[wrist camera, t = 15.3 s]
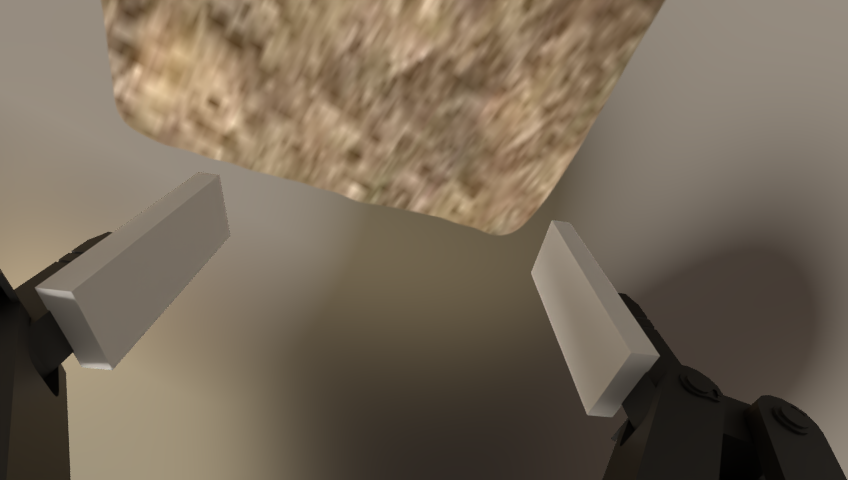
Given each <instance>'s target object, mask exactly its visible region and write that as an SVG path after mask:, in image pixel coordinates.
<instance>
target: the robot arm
mask: <svg viewBox="0 0 848 480" xmlns="http://www.w3.org/2000/svg"><path fill="white" fill-rule="evenodd" d="M229 237H230V231H229V225H228V220H227V214H226V209H225V203H224V198H223V192H222V187H221V181H220V176H219V175H215V174H208V173H200V172H198V173H197V174H195V175H194V176H192V177H191V178H190V179H188V180H187V181H186V182H184V183H182V184H181V185H180V186H179V187H177V188H175V189H174V190H173V191H171V192H170V193H168V194H167V195H165V196H164V197H163V198H161V199H160V200H158V201H157V202H156V203H154V204H153V205H151V206H150V207H148V208H147V209H146V210H144V211H143V212H141V213H140V214H139V215H137V216H136V217H134V218H133V219H131V220H130V221H128V222H127V223H126V224H124V225H123V226H121V227H120V228H119V229H117V230H116V231H114V232H107V233H104V234H102V235H100V236H97V237H95V238H92V239H89V240H87V241H86V242H84V243H83V244H81V245H80V246H78V247H77V248H75V249H74V250H73V251H72V253H68V254H66V255H65V256H63V257H62V258H61V259H59V262H55V263H53V264H52V265H50V266H49V267H47V268H46V269H45V270H43V271H41V272H40V273H38V274H37V275H36V276H34V277H32V278H31V279H30V280H28V281H27V282H25V283H23V284H22V285H20V286H19V287H18V288H16V289H15V290H13V288H12V287H11V285H10V284H9V282H8V280H7V279H6V277H5V276H4V274H3V273H2V271H1V269H0V480H70V458H69V436H68V435H69V434H68V411H67V388H66V372H65V370H64V368H63V366H62V365H61V363H62V362H63V361H64V360H65V359H66V358H67V357H68V356H69V355H70V354H71V353H74V355H75V356H76V358H77V360H78V361H79V363H80V365H81V367H87V368H97V369H108V370H113V369H114V368H115V367H116V365H117V364H118V363H119V362H120V361H121V359H123V357H124V356H125V355H126V354H127V353H128V352H129V351H130V350H131V348H132V347H133V346H134V345H135V344H136V343H137V341H138V340H139V339H140V338H141V337H142V336H143V335H144V334H145V332H146V331H147V330H148V329H149V328H150V327H151V326H152V324H153V323H154V322H155V321H156V320H157V319H158V317H159V316H160V315H161V314H162V313H163V312H164V311H165V309H166V308H167V307H168V306H169V305H170V304H171V303H172V302H173V301H174V299H175V298H176V297H177V296H178V295H179V294H180V293H181V291H182V290H183V289H184V288H185V287H186V286H187V285H188V283H189V282H190V281H191V280H192V279H193V278H194V277H195V275H196V274H197V273H198V272H199V271H200V270H201V268H202V267H203V266H204V265H205V264H206V263H207V262H208V261H209V259H210V258H211V257H212V256H213V255H214V254H215V253H216V251H217V250H218V249H219V248H220V247H221V246H222V245H223V244H224V242H225V241H226V240H227V239H228V238H229ZM531 274H532V277H533V279H534V282H535V284H536V287H537V289H538V292H539V294H540V296H541V299H542V302H543V304H544V307H545V309H546V312H547V314H548V317H549V319H550V322H551V324H552V327H553V330H554V332H555V335H556V337H557V340H558V342H559V345H560V347H561V350H562V352H563V355H564V357H565V360H566V362H567V365H568V367H569V370H570V372H571V375H572V377H573V380H574V382H575V385H576V387H577V390H578V392H579V395H580V398H581V400H582V403H583V405H584V408H585V410H586V413H587V415H594V416H605V417H613V416H614V414H615V413H616V412H617V411H618V409H619V408H620V407H621V405H623V408H624V410H625V412H626V414H627V416H628V419H627V420H626V421H625V422H624V423H623V425H622V426H621V427H620V428H619V429H618V431H617V432H616V433H615V434H614V436H613V437H612V438H611V439H612V440H614V441H616V440H617V441H616V444H615V446H614V449H613V452H612V455H611V457H610V460H609V463H608V465H607V468H606V471H605V473H604V476H603V479H602V480H847V479H846V477H845V475H844V473H843V471H842V469H841V467H840V465H839V463H838V461H837V459H836V457H835V455H834V453H833V451H832V449H831V447H830V445H829V444H828V441H827V439H826V438H825V436H824V434H823V432H822V431H821V430H820V428H819V427H818V425H817V424H816V423H815V422H814V421H813V420H812V419H811V418H810V417H808V416H807V414H806V413H804V412H803V411H802V410H800V409H799V408H797V407H796V406H794V405H792V404H790V403H788V402H786V401H785V400H783V399H780V398H777V397H774V396H770V395H765V396H761V397H760V398H759V399H757V400H756V401H755V402H754V403H753V404H752V405H750V404H747V403H744V402H741V401H738V400H736V399H733V398H730V397H727V396H724V395H723V394H722V393H721V391H720V389H719V388H718V386H717V385H715V384H714V383H713V382H712V381H711V380H710V379H709V378H708V377H706V376H705V375H703V374H702V373H700V372H699V371H697V370H695V369H693V368H690V367H688V366H683V365H681V363H680V362H679V361H678V359H677V358H676V357H675V355H674V354H673V352H672V351H671V350H670V348H669V347H668V345H667V344H666V343H665V341H664V340H663V338H662V337H661V336H660V334H659V333H658V331H657V330H654V326H653V325H652V323H651V322H650V320H648V319H647V316H646V315H645V313H644V312H643V311H642V309H641V308H640V306H639V305H638V304H637V303H635V302H634V301H633V300H632V299H631V298H630V297H628V296H627V295H626V294H622V293H617V291H616V290H615V288H614V287H613V285H612V284H611V283H610V281H609V280H608V278H607V277H606V275H605V274H604V272H603V271H602V269H601V268H600V266H599V265H598V263H597V262H596V260H595V259H594V258H593V256H592V255H591V253H590V251H589V250H588V248H587V247H586V246H585V244H584V243H583V241H582V240H581V238H580V237H579V235H578V234H577V232H576V231H575V229H574V228H573V227H572V225H571V223H569V222H561V221H554V220H552V222H551V224H550V227H549V229H548V232H547V234H546V237H545V239H544V242H543V245H542V247H541V249H540V252H539V254H538V257H537V259H536V262H535V265H534V267H533V269H532V272H531Z"/></svg>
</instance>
